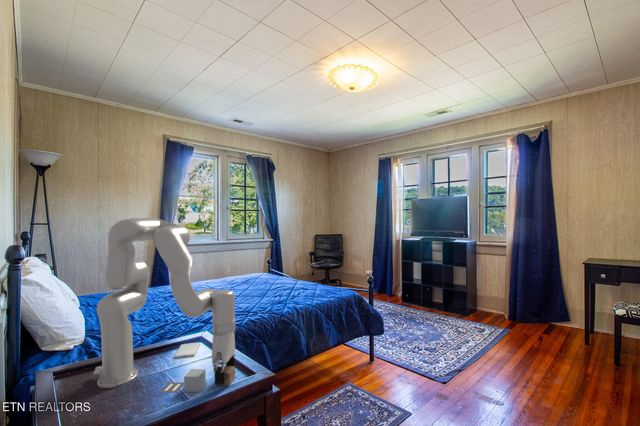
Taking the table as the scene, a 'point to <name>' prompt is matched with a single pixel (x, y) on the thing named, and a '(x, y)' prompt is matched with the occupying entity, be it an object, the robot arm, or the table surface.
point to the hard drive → (187, 350)
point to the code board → (176, 388)
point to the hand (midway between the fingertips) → (225, 375)
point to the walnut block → (228, 375)
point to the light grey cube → (194, 380)
